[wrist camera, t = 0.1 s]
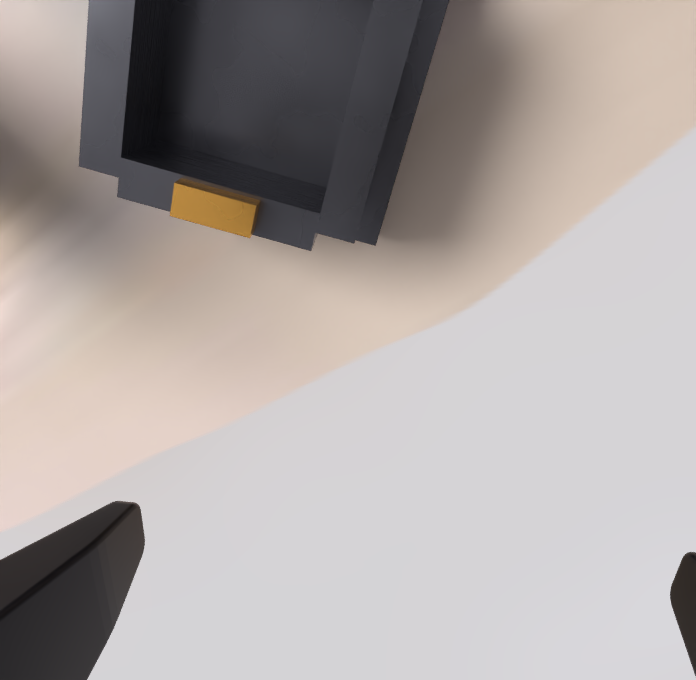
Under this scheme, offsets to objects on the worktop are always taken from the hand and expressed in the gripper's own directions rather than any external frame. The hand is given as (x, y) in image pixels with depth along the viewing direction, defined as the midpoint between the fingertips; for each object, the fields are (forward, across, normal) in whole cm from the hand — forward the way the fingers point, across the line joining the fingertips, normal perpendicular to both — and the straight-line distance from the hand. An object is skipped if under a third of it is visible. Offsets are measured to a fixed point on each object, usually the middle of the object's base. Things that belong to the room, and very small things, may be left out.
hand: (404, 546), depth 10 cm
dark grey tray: (+15, -5, +6) cm, 17 cm away
